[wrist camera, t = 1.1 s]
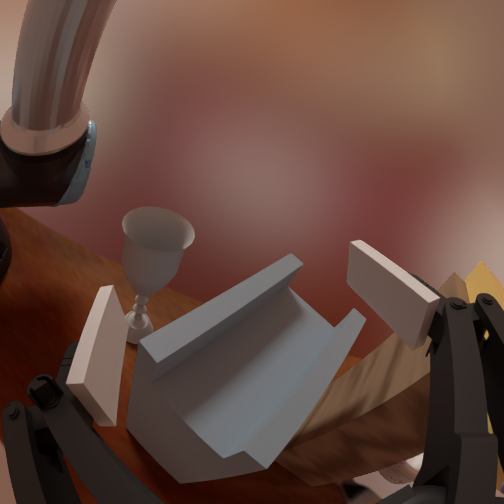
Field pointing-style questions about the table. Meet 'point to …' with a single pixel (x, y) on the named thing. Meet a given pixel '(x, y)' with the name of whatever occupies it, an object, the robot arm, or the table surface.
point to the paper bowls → (403, 470)
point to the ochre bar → (486, 283)
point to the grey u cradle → (235, 377)
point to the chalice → (151, 258)
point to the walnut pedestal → (368, 413)
